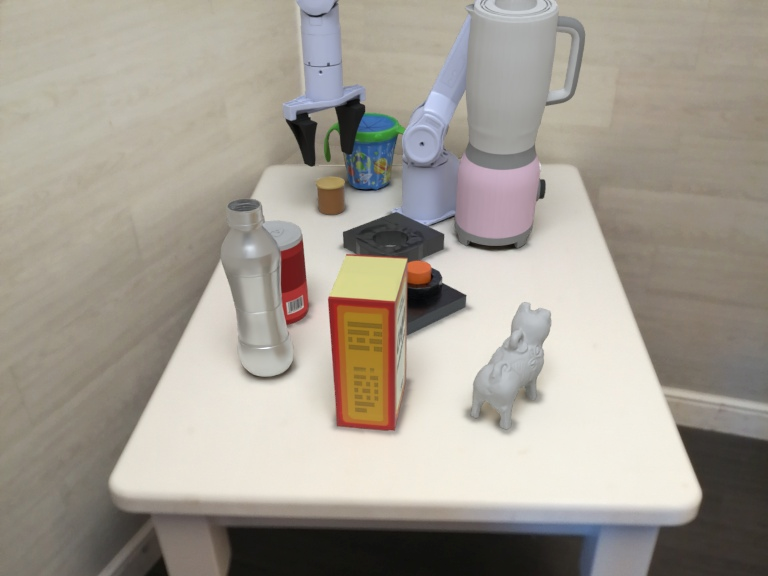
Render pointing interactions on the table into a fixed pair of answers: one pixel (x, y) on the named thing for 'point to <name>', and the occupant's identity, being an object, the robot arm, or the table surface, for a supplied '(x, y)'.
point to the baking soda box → (369, 340)
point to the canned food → (291, 269)
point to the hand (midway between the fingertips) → (328, 158)
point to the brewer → (431, 302)
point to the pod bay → (394, 238)
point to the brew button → (418, 272)
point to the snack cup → (370, 151)
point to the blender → (509, 115)
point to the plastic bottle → (256, 290)
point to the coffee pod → (330, 195)
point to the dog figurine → (513, 364)
